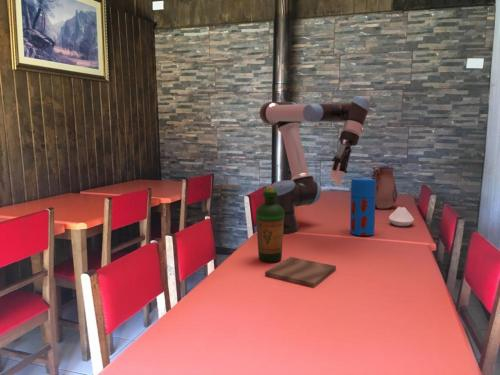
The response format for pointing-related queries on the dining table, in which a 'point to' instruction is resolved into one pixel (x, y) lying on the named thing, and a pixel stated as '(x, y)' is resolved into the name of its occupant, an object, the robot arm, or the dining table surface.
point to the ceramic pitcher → (384, 187)
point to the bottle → (270, 227)
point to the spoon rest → (401, 217)
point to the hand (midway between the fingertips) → (334, 182)
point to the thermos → (362, 206)
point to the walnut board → (301, 271)
